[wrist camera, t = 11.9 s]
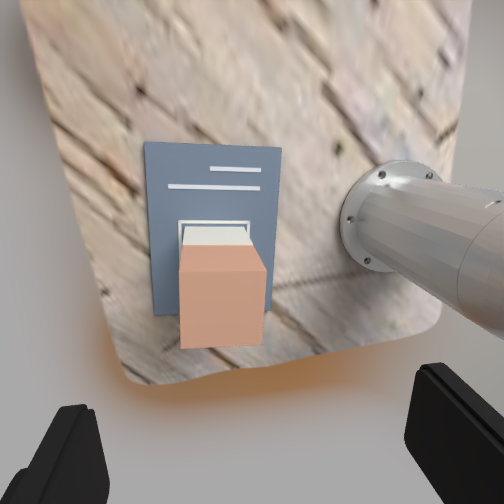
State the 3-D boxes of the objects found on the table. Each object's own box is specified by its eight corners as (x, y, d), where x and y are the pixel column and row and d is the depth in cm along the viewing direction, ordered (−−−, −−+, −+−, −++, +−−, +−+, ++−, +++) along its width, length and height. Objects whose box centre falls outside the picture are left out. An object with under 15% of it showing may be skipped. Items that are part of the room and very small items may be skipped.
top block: (253, 245, 28) (267, 271, 22) (249, 306, 30) (261, 344, 24) (182, 244, 27) (178, 272, 21) (184, 308, 29) (180, 348, 23)
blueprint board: (280, 147, 32) (282, 147, 32) (269, 308, 38) (270, 311, 37) (145, 141, 30) (143, 141, 29) (155, 312, 36) (154, 315, 35)
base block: (243, 226, 34) (252, 243, 28) (241, 279, 36) (250, 305, 30) (185, 226, 33) (182, 244, 27) (186, 280, 35) (184, 307, 29)
